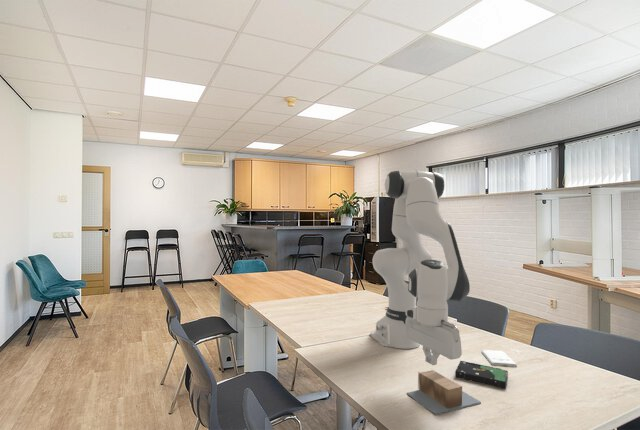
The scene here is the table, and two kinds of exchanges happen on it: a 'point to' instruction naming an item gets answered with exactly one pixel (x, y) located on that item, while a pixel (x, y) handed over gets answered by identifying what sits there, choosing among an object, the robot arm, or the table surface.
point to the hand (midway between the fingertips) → (431, 363)
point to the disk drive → (482, 374)
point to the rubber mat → (439, 408)
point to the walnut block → (440, 388)
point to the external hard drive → (498, 358)
